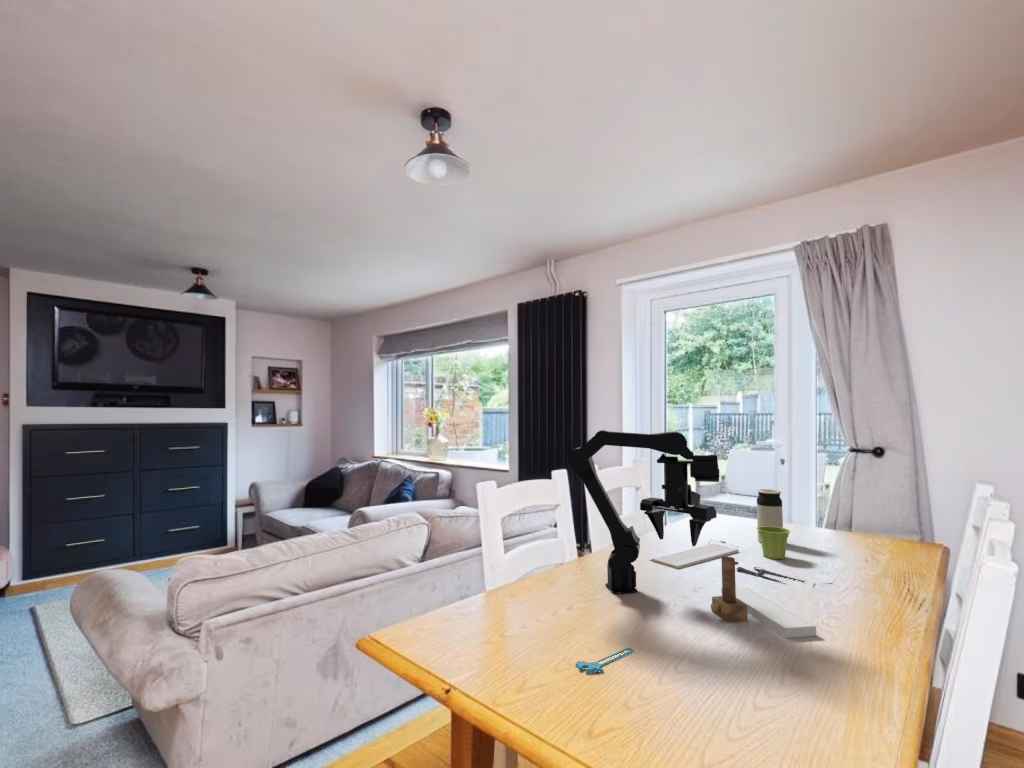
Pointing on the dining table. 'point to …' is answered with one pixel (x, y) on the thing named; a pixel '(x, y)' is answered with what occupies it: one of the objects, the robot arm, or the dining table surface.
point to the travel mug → (769, 509)
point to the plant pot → (773, 541)
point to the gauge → (729, 596)
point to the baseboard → (694, 555)
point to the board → (774, 615)
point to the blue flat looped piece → (595, 665)
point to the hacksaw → (762, 573)
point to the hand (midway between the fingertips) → (677, 542)
